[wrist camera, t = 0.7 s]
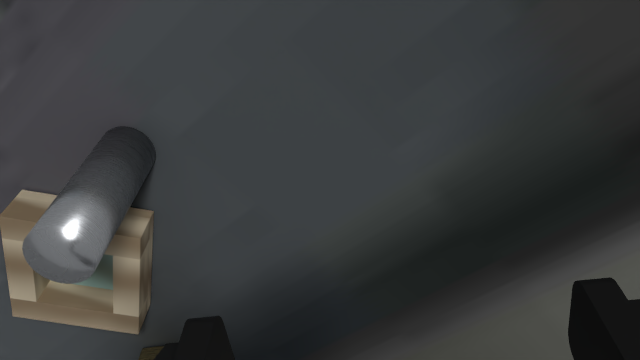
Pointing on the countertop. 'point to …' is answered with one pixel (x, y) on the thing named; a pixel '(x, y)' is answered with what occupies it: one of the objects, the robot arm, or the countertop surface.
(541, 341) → the countertop surface
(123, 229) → the socket block
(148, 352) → the yellow brown rectangular block
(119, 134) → the cylinder
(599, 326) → the robot arm
